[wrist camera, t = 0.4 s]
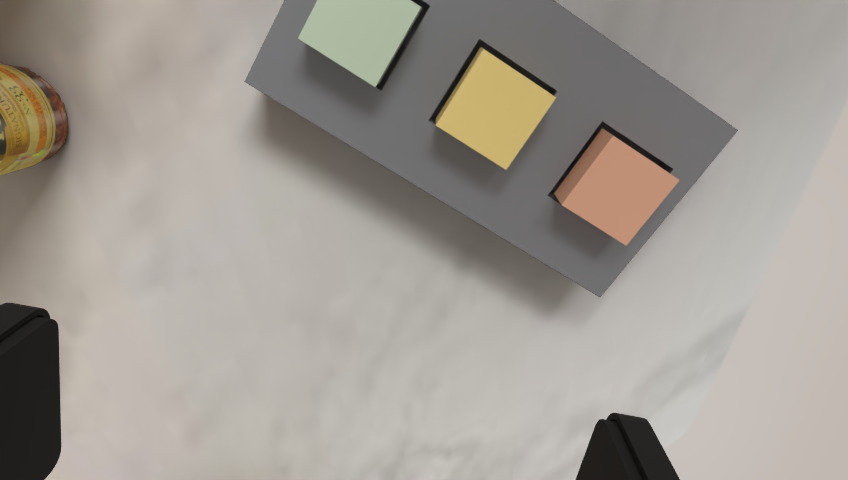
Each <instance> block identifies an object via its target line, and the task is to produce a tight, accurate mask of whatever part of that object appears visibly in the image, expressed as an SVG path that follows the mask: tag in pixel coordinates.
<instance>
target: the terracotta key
mask: <svg viewBox="0 0 848 480" xmlns="http://www.w3.org/2000/svg"><path fill="white" fill-rule="evenodd" d="M678 182H679V179H677V178H676V177H674V176H673V175H672V174H670V173H669V172H667V171H666V170H664V169H663V168H661V167H660V166H658V165H657V164H655V163H654V162H652V161H651V160H649V159H648V158H646V157H645V156H643V155H642V154H640V153H639V152H637V151H636V150H634V149H633V148H631V147H630V146H628V145H627V144H625V143H624V142H622V141H621V140H619V139H618V138H616V137H615V136H613V135H612V134H610V133H609V132H607V131H606V130H604V129H603V128H602V129H601V130H600V132H599V133H598V134H597V136H596V137H595V138H594V140H593V141H592V143H591V144H590V145H589V147H588V148H587V149H586V151H585V152H584V153H583V155H582V156H581V157H580V159H579V160H578V162H577V163H576V164H575V166H574V167H573V168H572V170H571V171H570V172H569V174H568V175H567V176H566V178H565V179H564V181H563V182H562V183H561V185H560V186H559V187H558V189H557V190H556V191H555V193H554V194H555V195H556V197H557V199H558V200H559V202H560V203H561V205H563V206H564V207H566V208H567V209H569V210H570V211H572V212H574V213H575V214H577V215H578V216H580V217H582V218H583V219H585V220H586V221H588V222H589V223H591V224H593V225H594V226H596V227H597V228H599V229H601V230H602V231H604V232H605V233H607V234H608V235H610V236H612V237H613V238H615V239H616V240H618V241H620V242H621V243H623V244H624V245H626V246H627V244H628V243H629V242H630V241H631V239H632V238H633V237H634V236H635V235H636V233H637V232H638V231H639V230H640V228H641V227H642V226H643V225H644V223H645V222H646V221H647V220H648V219H649V217H650V216H651V215H652V214H653V212H654V211H655V210H656V209H657V207H658V206H659V205H660V204H661V203H662V201H663V200H664V199H665V198H666V196H667V195H668V194H669V193H670V192H671V190H672V189H673V188H674V187H675V185H676V184H677V183H678Z"/></svg>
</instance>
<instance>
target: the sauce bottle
mask: <svg viewBox="0 0 848 480" xmlns="http://www.w3.org/2000/svg"><path fill="white" fill-rule="evenodd" d="M67 132H68V126H67V115H66V111H65V107H64V104H63V103H62V102H61V99H60V96H59V94H58V93H57V92H56V91H55V90H54V89H53V88H52V87H51V86H50V85H49V84H48V83H47V82H46V81H45V80H43V79H42V78H41V77H40V76H37V75H36V74H35V73H33V72H31V71H30V70H28V69H26V68H21V67H14V66H9V65H4V64H0V175H4V174H7V173H10V172H14V171H17V170H20V169H24V168H27V167H30V166H33V165H35V164H37V163H38V162H40V161H43V160H46V159H49V158H50V157H52V156H53V155H54V154H56V153H57V152H58V151H59V149H60V148H61V147H62V146H63V144H64V141H65V140H66V136H67Z"/></svg>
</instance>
